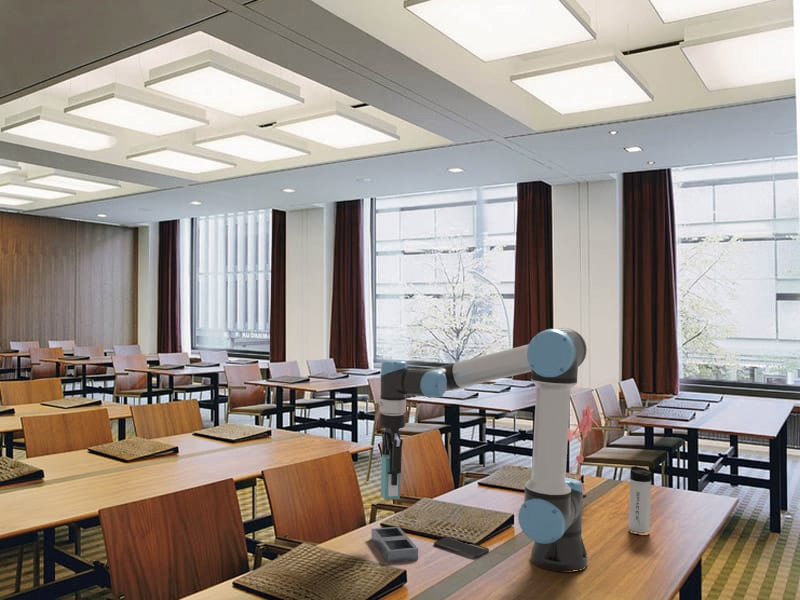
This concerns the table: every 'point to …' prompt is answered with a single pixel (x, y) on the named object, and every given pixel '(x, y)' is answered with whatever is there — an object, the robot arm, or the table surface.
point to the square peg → (385, 479)
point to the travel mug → (639, 500)
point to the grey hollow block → (394, 544)
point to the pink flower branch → (584, 427)
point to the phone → (461, 547)
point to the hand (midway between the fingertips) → (390, 492)
